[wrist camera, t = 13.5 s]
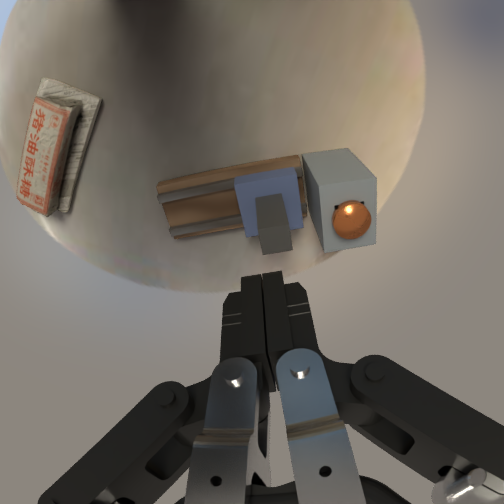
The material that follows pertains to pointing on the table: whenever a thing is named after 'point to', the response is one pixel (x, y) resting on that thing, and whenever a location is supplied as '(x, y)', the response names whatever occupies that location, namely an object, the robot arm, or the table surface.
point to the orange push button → (351, 219)
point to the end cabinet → (338, 194)
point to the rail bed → (214, 197)
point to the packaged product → (55, 146)
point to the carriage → (270, 207)
